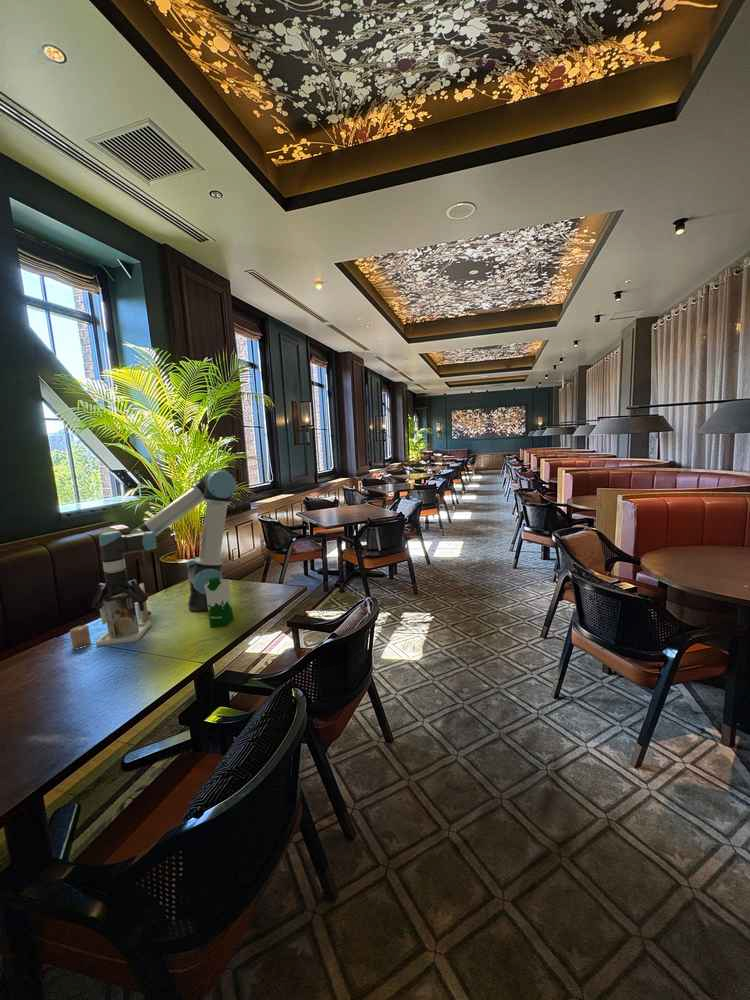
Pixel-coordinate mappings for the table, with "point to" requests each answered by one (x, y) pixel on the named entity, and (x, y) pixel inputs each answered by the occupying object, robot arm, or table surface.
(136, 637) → the tray
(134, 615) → the coffee box
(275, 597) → the table surface
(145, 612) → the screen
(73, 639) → the brown domed capsule
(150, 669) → the table surface
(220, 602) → the milk carton
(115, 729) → the table surface
